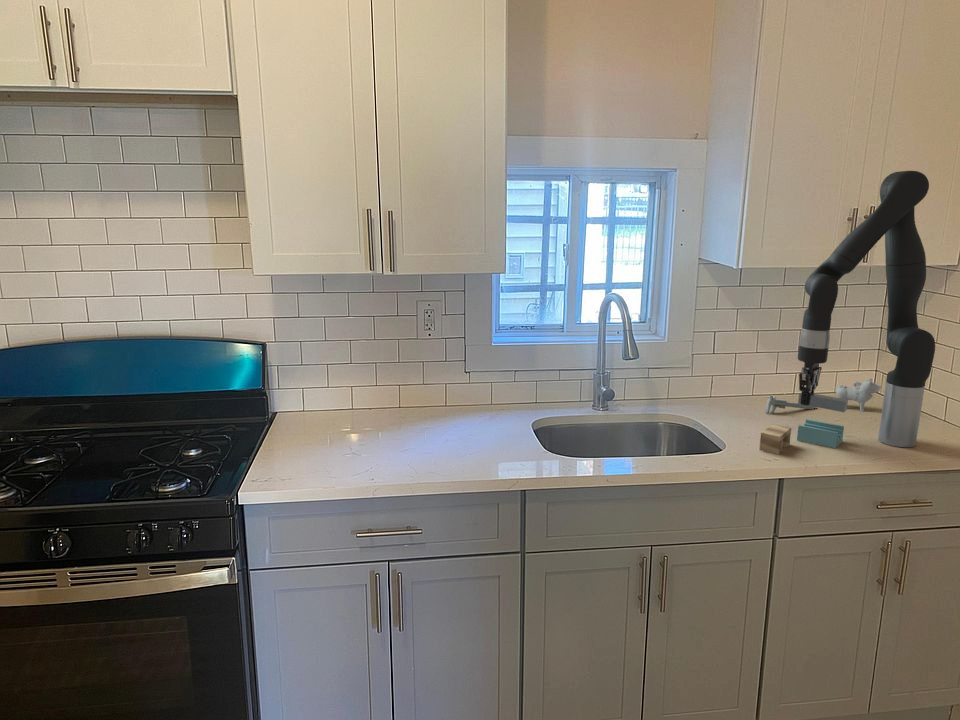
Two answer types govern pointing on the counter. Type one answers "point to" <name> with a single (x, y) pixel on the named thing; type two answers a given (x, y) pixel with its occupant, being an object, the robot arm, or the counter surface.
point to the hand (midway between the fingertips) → (806, 403)
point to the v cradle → (820, 433)
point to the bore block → (775, 438)
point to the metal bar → (826, 402)
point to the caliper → (782, 404)
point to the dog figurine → (858, 392)
